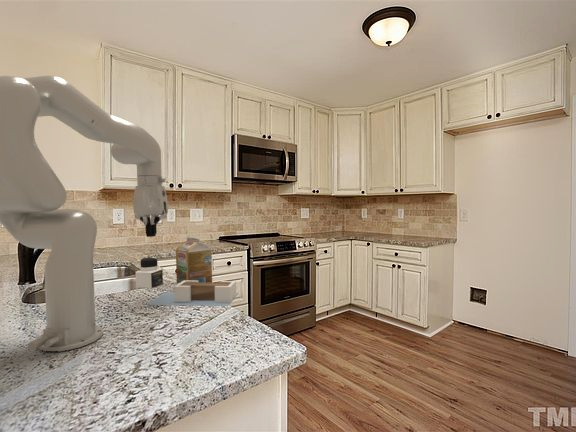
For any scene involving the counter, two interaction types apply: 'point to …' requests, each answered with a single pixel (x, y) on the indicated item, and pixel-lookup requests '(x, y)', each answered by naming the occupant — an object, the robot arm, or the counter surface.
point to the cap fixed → (225, 292)
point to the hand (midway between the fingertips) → (151, 236)
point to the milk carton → (194, 261)
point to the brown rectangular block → (203, 290)
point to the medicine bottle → (149, 274)
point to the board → (168, 299)
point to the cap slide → (182, 292)
